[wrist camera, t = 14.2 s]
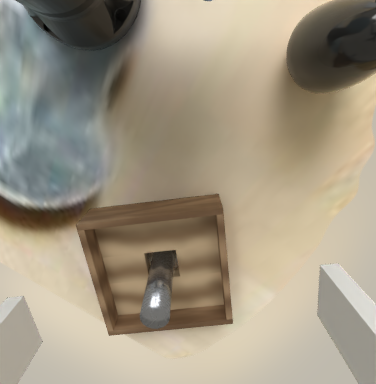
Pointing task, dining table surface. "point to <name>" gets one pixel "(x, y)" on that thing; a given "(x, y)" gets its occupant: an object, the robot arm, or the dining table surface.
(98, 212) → the box
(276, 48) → the dining table surface
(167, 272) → the peg
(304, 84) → the pump dispenser
